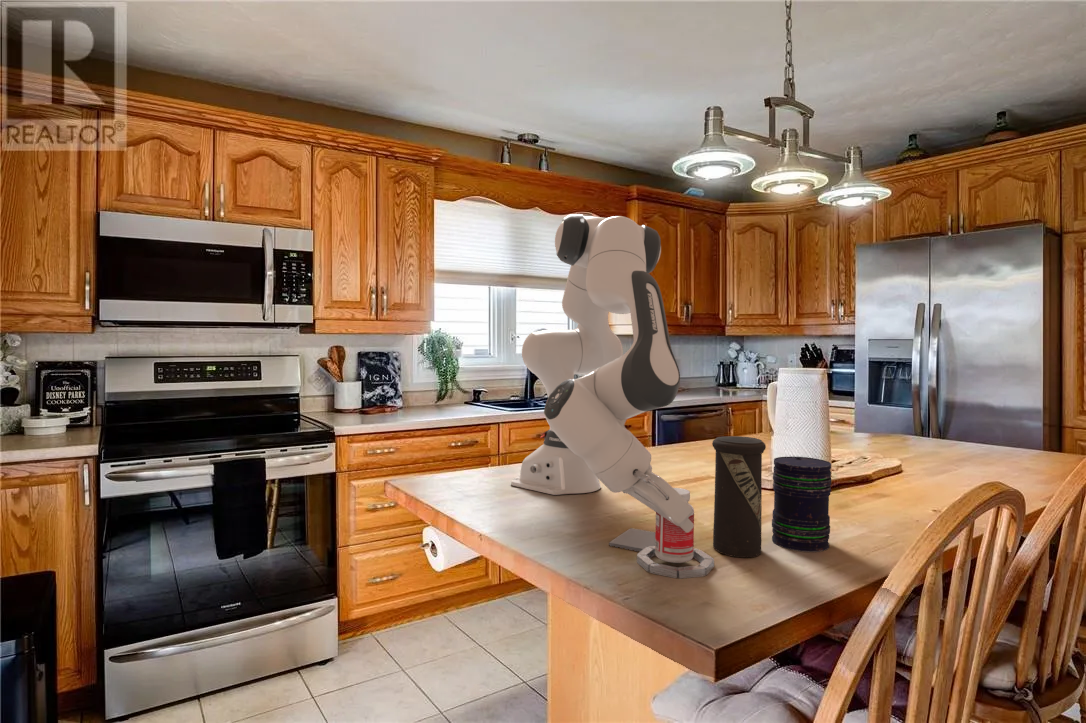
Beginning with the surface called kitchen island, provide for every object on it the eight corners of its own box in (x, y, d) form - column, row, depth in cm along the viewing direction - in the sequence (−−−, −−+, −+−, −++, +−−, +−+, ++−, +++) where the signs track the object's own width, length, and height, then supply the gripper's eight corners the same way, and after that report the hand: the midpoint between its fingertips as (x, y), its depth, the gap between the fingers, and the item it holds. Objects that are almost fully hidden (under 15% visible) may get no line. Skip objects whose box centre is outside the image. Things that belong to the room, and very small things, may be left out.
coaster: (608, 545, 111) (608, 542, 111) (630, 531, 120) (630, 527, 120) (662, 556, 106) (662, 552, 106) (681, 540, 115) (681, 536, 115)
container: (734, 561, 104) (736, 442, 103) (700, 545, 112) (702, 434, 111) (774, 554, 107) (777, 439, 106) (738, 539, 115) (740, 431, 115)
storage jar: (836, 554, 108) (838, 468, 107) (777, 550, 110) (779, 465, 109) (821, 536, 118) (823, 457, 117) (767, 532, 119) (768, 455, 119)
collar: (628, 568, 100) (628, 560, 100) (653, 547, 110) (654, 541, 110) (699, 583, 94) (699, 575, 94) (719, 560, 104) (719, 552, 104)
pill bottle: (701, 559, 102) (702, 492, 101) (674, 566, 98) (675, 497, 98) (673, 548, 107) (675, 484, 106) (647, 554, 103) (648, 489, 103)
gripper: (665, 463, 90) (724, 526, 93) (614, 439, 110) (664, 491, 113) (635, 495, 89) (696, 557, 92) (589, 466, 109) (640, 517, 112)
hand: (678, 521), depth 102 cm, fingers closed on pill bottle, 6 cm apart
